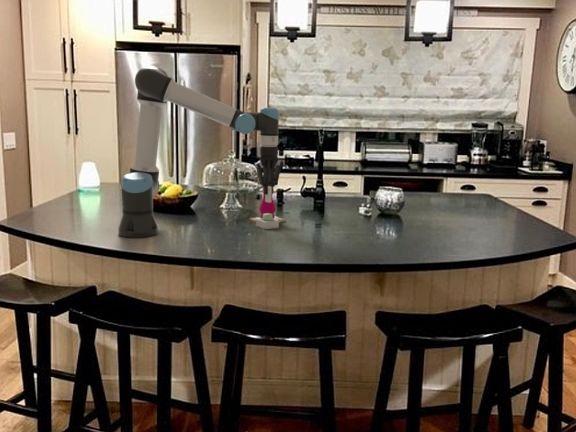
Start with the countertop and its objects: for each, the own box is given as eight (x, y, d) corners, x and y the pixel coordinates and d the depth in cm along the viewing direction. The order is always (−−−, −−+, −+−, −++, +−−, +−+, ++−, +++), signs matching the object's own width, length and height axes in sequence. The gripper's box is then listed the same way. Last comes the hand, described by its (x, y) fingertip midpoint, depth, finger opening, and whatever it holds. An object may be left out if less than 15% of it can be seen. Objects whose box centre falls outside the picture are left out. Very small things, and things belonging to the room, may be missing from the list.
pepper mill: (276, 217, 258) (277, 173, 254) (274, 220, 251) (275, 175, 247) (260, 216, 259) (261, 172, 255) (258, 220, 252) (258, 174, 248)
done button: (265, 223, 242) (266, 215, 241) (261, 222, 245) (261, 213, 244) (274, 223, 244) (274, 214, 243) (269, 221, 247) (269, 212, 246)
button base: (264, 229, 240) (264, 222, 239) (256, 225, 246) (256, 218, 245) (278, 227, 244) (278, 220, 243) (270, 224, 250) (270, 217, 249)
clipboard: (260, 224, 248) (260, 222, 248) (249, 220, 256) (249, 217, 256) (285, 221, 255) (285, 219, 255) (274, 217, 263) (274, 215, 263)
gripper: (259, 147, 231) (259, 204, 236) (287, 146, 238) (286, 202, 243) (250, 145, 237) (250, 201, 242) (277, 144, 244) (276, 199, 249)
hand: (268, 201), depth 243 cm, fingers closed
